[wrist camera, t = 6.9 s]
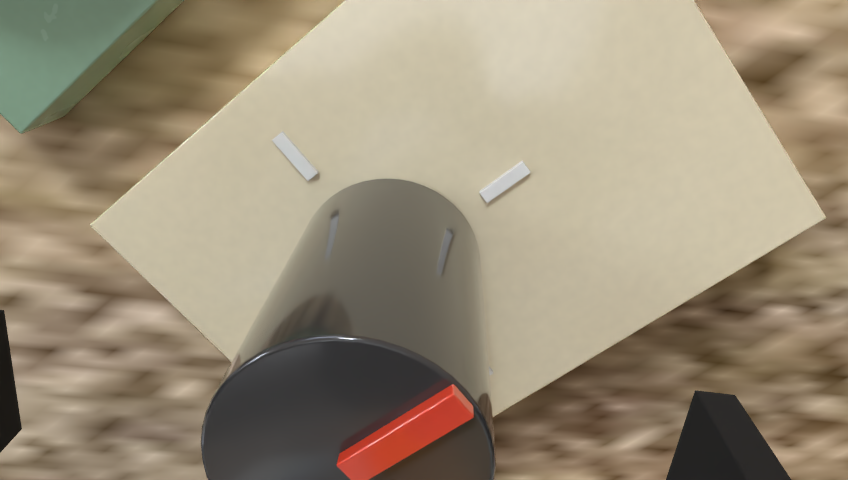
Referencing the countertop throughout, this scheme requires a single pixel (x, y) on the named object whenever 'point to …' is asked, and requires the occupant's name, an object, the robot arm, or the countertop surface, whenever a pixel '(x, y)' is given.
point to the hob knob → (364, 351)
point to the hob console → (485, 168)
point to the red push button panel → (65, 51)
